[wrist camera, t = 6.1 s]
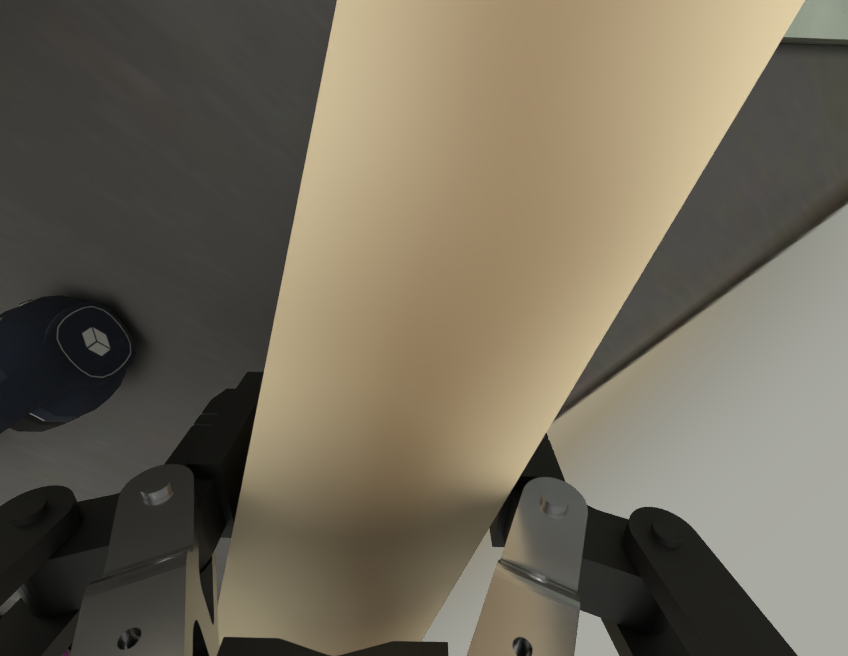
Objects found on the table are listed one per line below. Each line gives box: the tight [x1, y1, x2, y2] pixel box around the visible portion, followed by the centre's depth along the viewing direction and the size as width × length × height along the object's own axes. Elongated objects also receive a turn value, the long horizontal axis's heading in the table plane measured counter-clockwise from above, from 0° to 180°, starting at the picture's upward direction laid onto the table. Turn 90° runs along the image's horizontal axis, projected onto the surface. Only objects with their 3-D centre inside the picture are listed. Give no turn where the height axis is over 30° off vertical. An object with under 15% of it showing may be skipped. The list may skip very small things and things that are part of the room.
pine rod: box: [217, 0, 805, 656], centre depth 11 cm, size 5×28×5 cm, turn 161°
